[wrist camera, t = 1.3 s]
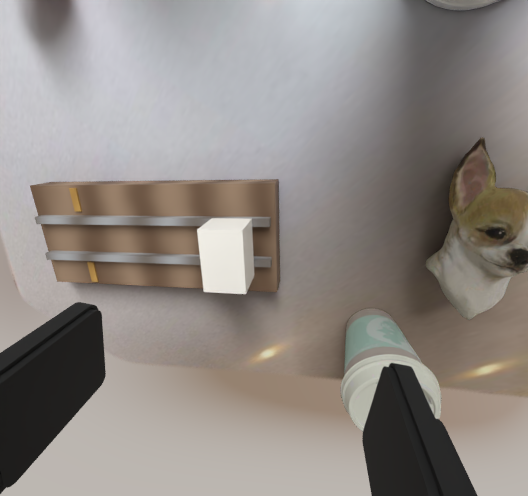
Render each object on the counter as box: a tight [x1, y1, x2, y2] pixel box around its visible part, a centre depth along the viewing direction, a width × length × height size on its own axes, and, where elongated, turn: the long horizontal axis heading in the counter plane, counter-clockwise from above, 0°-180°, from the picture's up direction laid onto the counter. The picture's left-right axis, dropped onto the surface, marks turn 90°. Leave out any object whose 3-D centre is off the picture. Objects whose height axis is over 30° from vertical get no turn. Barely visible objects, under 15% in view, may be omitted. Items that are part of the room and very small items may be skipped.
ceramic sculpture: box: [426, 137, 528, 320], centre depth 28 cm, size 11×9×15 cm
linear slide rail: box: [30, 179, 280, 292], centre depth 35 cm, size 28×12×4 cm, turn 92°
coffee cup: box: [341, 308, 441, 432], centre depth 32 cm, size 9×8×12 cm
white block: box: [197, 218, 254, 294], centre depth 30 cm, size 4×6×6 cm, turn 2°
